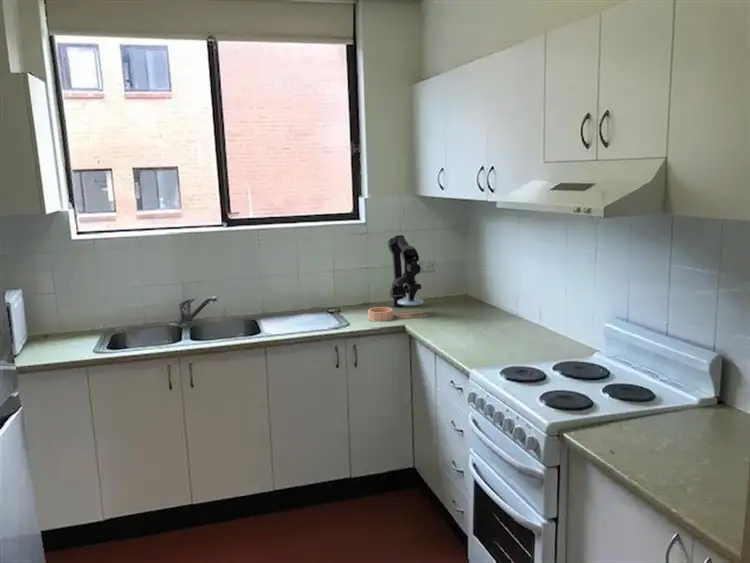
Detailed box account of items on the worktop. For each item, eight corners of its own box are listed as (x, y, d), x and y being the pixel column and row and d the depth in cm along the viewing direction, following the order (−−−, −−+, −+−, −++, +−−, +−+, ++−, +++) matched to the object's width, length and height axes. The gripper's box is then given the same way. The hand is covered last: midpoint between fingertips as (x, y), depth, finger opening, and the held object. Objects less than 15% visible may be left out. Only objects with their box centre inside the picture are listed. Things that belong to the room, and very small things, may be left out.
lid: (394, 301, 344) (393, 292, 343) (417, 298, 348) (417, 290, 347) (402, 306, 331) (402, 297, 330) (427, 303, 335) (427, 294, 334)
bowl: (365, 317, 340) (365, 308, 339) (388, 315, 344) (388, 306, 343) (372, 322, 328) (372, 313, 327) (396, 320, 332) (396, 311, 331)
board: (392, 314, 346) (392, 313, 346) (419, 311, 351) (419, 310, 351) (401, 320, 331) (401, 319, 331) (429, 317, 336) (429, 316, 335)
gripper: (389, 270, 343) (390, 298, 346) (401, 275, 325) (402, 304, 328) (409, 268, 346) (409, 296, 349) (421, 273, 328) (422, 302, 331)
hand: (410, 299), depth 339 cm, fingers closed on lid, 3 cm apart
